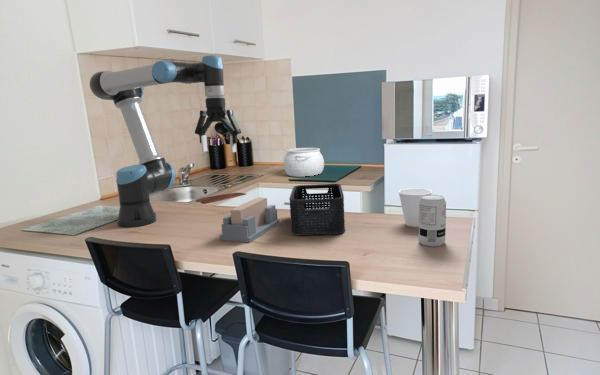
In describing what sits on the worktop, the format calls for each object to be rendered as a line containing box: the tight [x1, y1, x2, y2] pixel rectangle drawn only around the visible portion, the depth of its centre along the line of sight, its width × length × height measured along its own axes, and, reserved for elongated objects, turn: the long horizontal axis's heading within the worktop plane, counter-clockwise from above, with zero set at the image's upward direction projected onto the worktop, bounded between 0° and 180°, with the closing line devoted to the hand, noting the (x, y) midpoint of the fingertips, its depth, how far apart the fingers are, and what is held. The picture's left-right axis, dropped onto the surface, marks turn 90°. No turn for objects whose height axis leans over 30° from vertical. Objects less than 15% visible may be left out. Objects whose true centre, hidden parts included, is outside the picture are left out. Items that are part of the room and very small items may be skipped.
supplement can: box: [417, 194, 447, 247], centre depth 135 cm, size 8×8×15 cm
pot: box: [283, 147, 325, 178], centre depth 277 cm, size 29×26×16 cm
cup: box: [398, 187, 433, 228], centre depth 156 cm, size 12×12×12 cm
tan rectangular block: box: [230, 197, 268, 227], centre depth 157 cm, size 4×20×9 cm, turn 157°
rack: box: [219, 204, 281, 243], centre depth 158 cm, size 12×24×8 cm, turn 157°
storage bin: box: [289, 183, 346, 236], centre depth 162 cm, size 29×19×13 cm
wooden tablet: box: [195, 192, 247, 204], centre depth 219 cm, size 27×10×2 cm, turn 133°
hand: (219, 152), depth 170 cm, fingers open, 13 cm apart
